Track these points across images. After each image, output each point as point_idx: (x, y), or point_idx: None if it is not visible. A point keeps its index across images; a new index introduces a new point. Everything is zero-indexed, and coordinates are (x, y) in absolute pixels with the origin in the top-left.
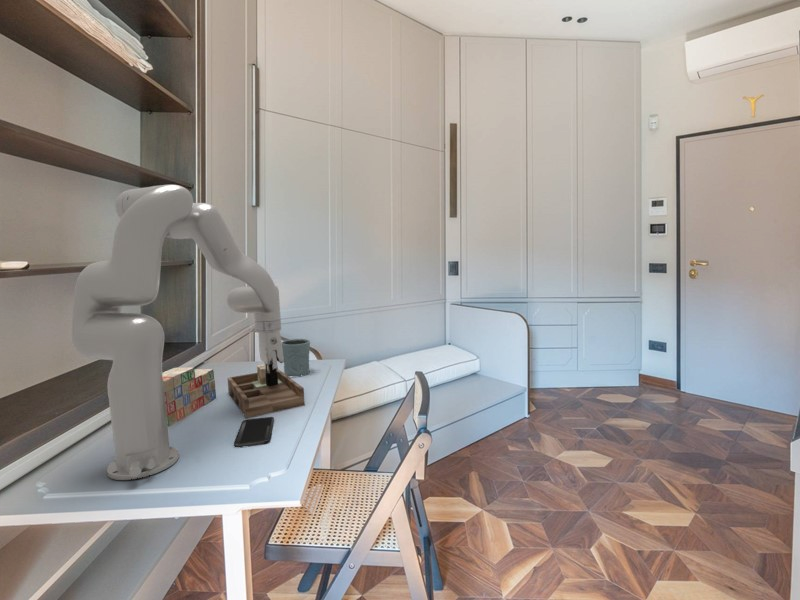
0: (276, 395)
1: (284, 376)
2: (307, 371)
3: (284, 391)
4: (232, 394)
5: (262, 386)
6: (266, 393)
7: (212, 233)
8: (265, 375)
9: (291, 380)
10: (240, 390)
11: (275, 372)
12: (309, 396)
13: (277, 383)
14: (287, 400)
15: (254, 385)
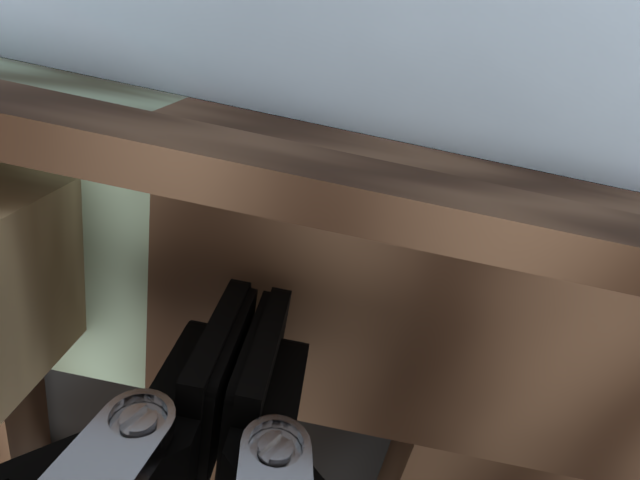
0: (535, 400)
1: (220, 204)
2: None
3: (497, 302)
4: (57, 439)
5: (154, 349)
6: (397, 419)
7: None
8: (20, 351)
9: (513, 245)
10: None
11: (295, 443)
12: (632, 38)
13: (289, 299)
14: None
15: (57, 366)
